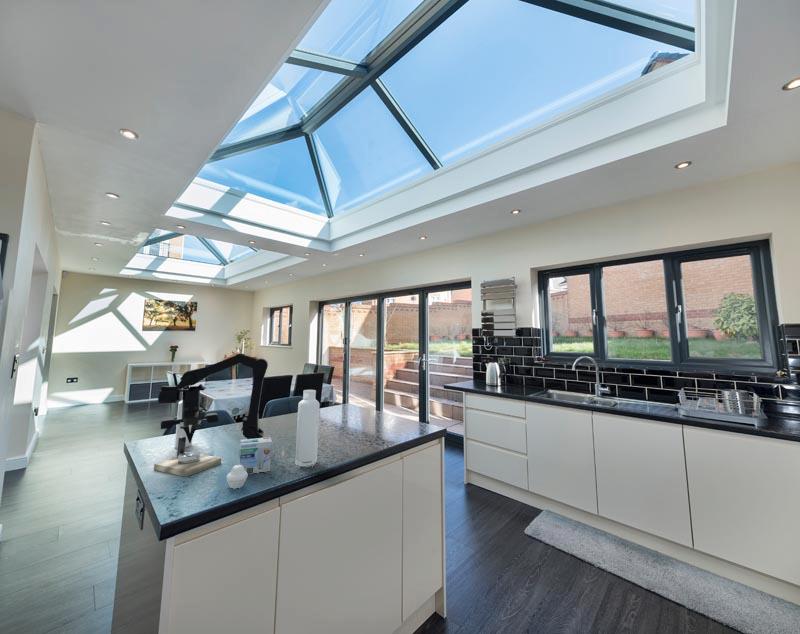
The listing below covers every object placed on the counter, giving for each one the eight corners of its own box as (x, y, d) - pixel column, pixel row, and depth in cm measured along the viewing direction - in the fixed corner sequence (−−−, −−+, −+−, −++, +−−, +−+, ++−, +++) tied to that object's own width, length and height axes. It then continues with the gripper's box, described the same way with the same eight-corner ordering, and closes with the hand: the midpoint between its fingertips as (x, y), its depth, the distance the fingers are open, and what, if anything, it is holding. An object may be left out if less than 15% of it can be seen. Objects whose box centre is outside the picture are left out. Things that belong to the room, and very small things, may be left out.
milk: (175, 448, 141) (179, 396, 142) (174, 445, 145) (178, 394, 147) (192, 446, 144) (195, 395, 146) (190, 442, 149) (194, 393, 151)
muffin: (244, 490, 102) (245, 467, 102) (222, 492, 101) (224, 468, 101) (249, 482, 108) (250, 460, 108) (229, 483, 107) (230, 461, 107)
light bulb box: (238, 476, 113) (240, 444, 114) (237, 469, 119) (239, 439, 120) (271, 471, 118) (272, 441, 119) (269, 465, 123) (270, 436, 124)
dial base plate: (220, 463, 125) (221, 457, 125) (186, 476, 111) (186, 470, 112) (189, 457, 130) (189, 452, 130) (152, 469, 117) (153, 463, 117)
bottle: (321, 462, 128) (324, 390, 131) (307, 469, 121) (310, 392, 123) (305, 459, 131) (308, 388, 134) (290, 465, 124) (294, 390, 127)
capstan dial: (203, 459, 122) (204, 440, 122) (182, 465, 116) (184, 444, 117) (189, 453, 128) (190, 435, 129) (168, 458, 123) (170, 439, 123)
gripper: (160, 408, 116) (159, 453, 115) (220, 402, 127) (219, 443, 126) (162, 403, 125) (160, 445, 124) (217, 398, 136) (216, 436, 135)
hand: (189, 442), depth 127 cm, fingers closed
